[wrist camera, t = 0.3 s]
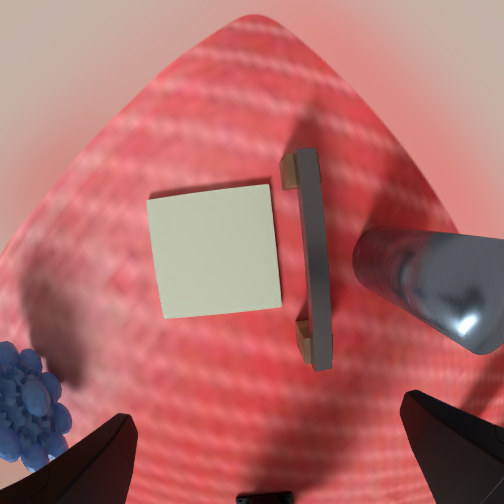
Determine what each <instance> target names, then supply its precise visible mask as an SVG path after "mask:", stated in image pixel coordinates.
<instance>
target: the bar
mask: <svg viewBox="0 0 504 504" xmlns="http://www.w3.org/2000/svg"><path fill="white" fill-rule="evenodd" d="M293 159H294V167H295V175H296V183H297V192H298V200H299V209H300V219H301V228H302V239H303V249H304V260H305V272H306V285H307V299H308V314H309V331H310V350H311V364H312V367H313V369H314V371H315V372H316V371H322V370H327V369H332V325H331V300H330V282H329V266H328V253H327V240H326V229H325V219H324V209H323V200H322V191H321V183H320V175H319V167H318V160H317V153H316V148H305V149H296V150H295V151H294V152H293Z"/></svg>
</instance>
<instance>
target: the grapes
mask: <svg viewBox="0 0 504 504" xmlns="http://www.w3.org/2000/svg"><path fill="white" fill-rule="evenodd" d="M42 368H43V366H42V361H41V358H40V356H39V355H38V353H37V352H36V351H35V350H32V349H30V348H29V349H24V350H22V352H21V353H20V354H19V352H18V350H17V349H16V347H15V346H14V344H13V343H10V342H8V341H4V342H0V457H1V458H2V459H4V460H6V461H8V462H10V463H11V462H16V461H17V460H18V458H19V457H20V456H21V459H22V462H23V464H24V466H25V467H26V468H27V469H28V470H29V472H32V473H34V472H36V471H37V470H39V469H40V468H42V467H43V466H45V465H46V464H48V463H49V459H50V460H54V459H55V458H57V457H58V456H59V455H61V454H62V453H64V452H65V451H67V450H68V449H69V447H68V444H67V442H66V439H65V437H64V436H63V434H66V433H68V432H69V430H70V429H71V427H72V418H71V414H70V412H69V410H68V409H67V408H66V407H65V406H64V405H63V404H61V403H58V402H57V401H58V400H59V398H60V397H61V393H62V388H61V383H60V381H59V379H58V378H57V377H56V376H55V375H54V374H53V373H50V372H44V373H42Z"/></svg>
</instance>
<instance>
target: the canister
mask: <svg viewBox="0 0 504 504" xmlns="http://www.w3.org/2000/svg"><path fill="white" fill-rule="evenodd" d="M353 269H354V273H355V275H356V277H357V279H358V280H359V282H360V283H361V284H362V285H363V286H365V287H366V288H368V289H370V290H371V291H373V292H375V293H376V294H378V295H380V296H381V297H383V298H385V299H386V300H388V301H390V302H391V303H393V304H395V305H396V306H398V307H400V308H401V309H403V310H405V311H406V312H408V313H410V314H411V315H413V316H415V317H416V318H418V319H419V320H421V321H423V322H424V323H426V324H428V325H429V326H431V327H432V328H434V329H436V330H437V331H439V332H441V333H442V334H444V335H445V336H447V337H449V338H450V339H452V340H453V341H455V342H457V343H458V344H460V345H461V346H463V347H464V348H466V349H468V350H469V351H471V352H472V353H474V354H477V355H484V354H488V353H491V352H493V351H494V350H496V349H497V348H499V347H500V346H501V345H502V344H503V343H504V240H503V239H496V238H487V237H480V236H471V235H463V234H454V233H445V232H435V231H426V230H416V229H405V228H394V227H375V228H373V229H371V230H369V231H367V232H366V233H365V234H364V235H363V236H362V237H361V238H360V239H359V241H358V242H357V244H356V246H355V249H354V253H353Z"/></svg>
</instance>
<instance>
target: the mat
mask: <svg viewBox="0 0 504 504" xmlns="http://www.w3.org/2000/svg"><path fill="white" fill-rule="evenodd" d="M146 203H147V213H148V221H149V230H150V238H151V245H152V252H153V259H154V266H155V272H156V278H157V284H158V290H159V296H160V301H161V307H162V312H163V317H164V319H168V318H181V317H193V316H204V315H215V314H225V313H234V312H244V311H252V310H261V309H269V308H277V307H282V303H281V293H280V282H279V272H278V262H277V252H276V243H275V233H274V224H273V215H272V206H271V197H270V188H269V184H264V185H254V186H245V187H236V188H228V189H220V190H212V191H204V192H197V193H190V194H183V195H176V196H170V197H163V198H157V199H151V200H146Z"/></svg>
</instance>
